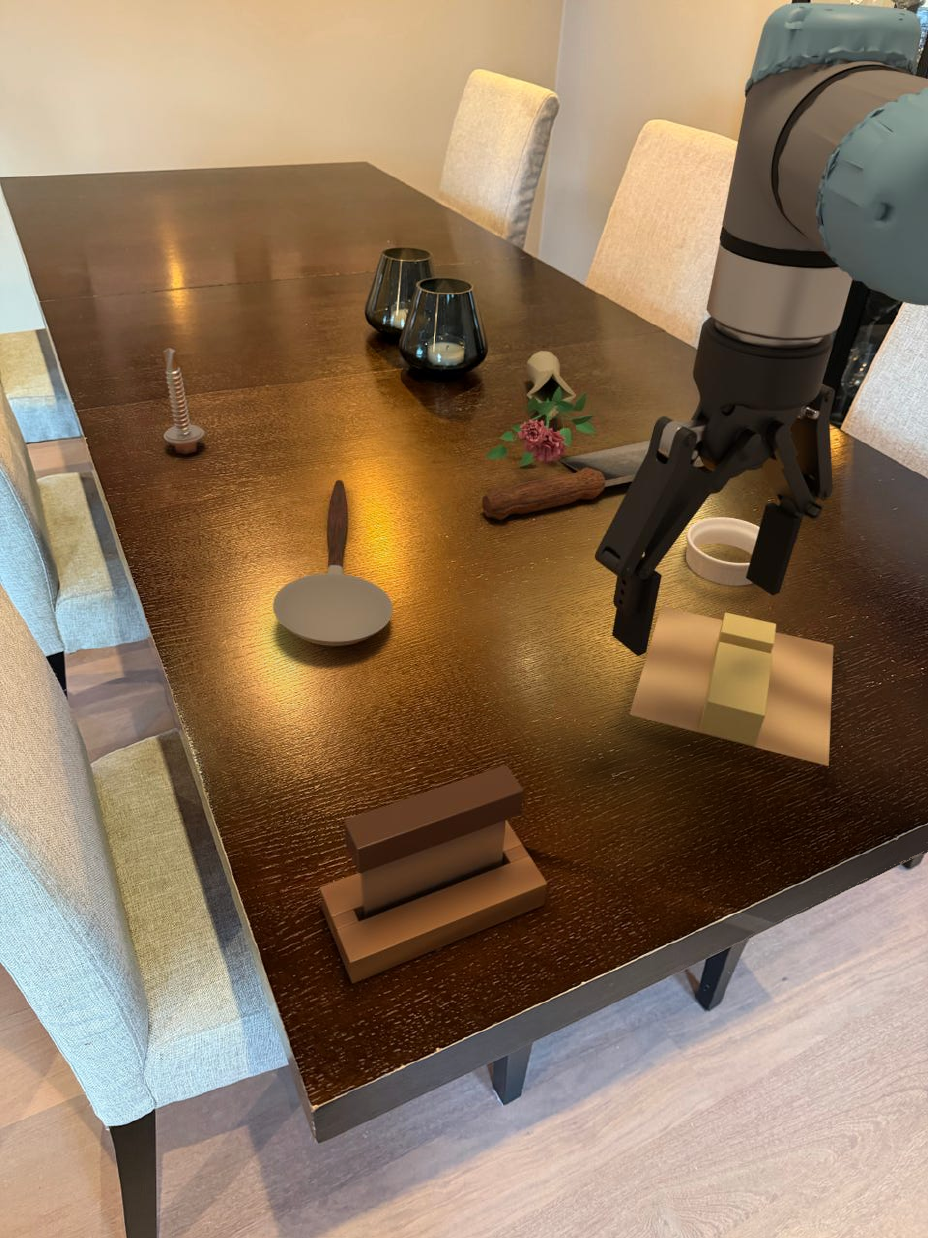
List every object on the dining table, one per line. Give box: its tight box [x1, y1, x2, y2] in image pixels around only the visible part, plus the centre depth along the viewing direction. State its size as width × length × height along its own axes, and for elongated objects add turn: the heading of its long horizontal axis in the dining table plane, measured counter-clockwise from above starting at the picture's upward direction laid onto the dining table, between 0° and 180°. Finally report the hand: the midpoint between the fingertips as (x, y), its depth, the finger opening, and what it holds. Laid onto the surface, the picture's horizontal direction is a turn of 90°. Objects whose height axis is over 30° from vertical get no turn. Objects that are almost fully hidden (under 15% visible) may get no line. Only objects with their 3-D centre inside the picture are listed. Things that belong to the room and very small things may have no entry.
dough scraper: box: [343, 764, 524, 920], centre depth 58 cm, size 2×11×11 cm, turn 115°
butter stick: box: [699, 642, 772, 747], centre depth 74 cm, size 8×4×4 cm, turn 161°
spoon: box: [272, 479, 394, 647], centre depth 92 cm, size 11×33×3 cm, turn 5°
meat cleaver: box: [481, 440, 705, 521], centre depth 108 cm, size 34×11×4 cm, turn 116°
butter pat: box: [713, 612, 777, 662], centre depth 80 cm, size 3×4×4 cm, turn 71°
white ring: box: [685, 516, 760, 587], centre depth 92 cm, size 9×9×4 cm
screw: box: [163, 347, 206, 455], centre depth 107 cm, size 13×5×5 cm
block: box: [319, 820, 548, 985], centre depth 60 cm, size 6×14×2 cm, turn 116°
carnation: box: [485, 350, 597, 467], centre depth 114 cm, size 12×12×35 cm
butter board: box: [629, 606, 834, 767], centre depth 79 cm, size 16×16×2 cm
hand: (698, 613), depth 65 cm, fingers open, 13 cm apart
